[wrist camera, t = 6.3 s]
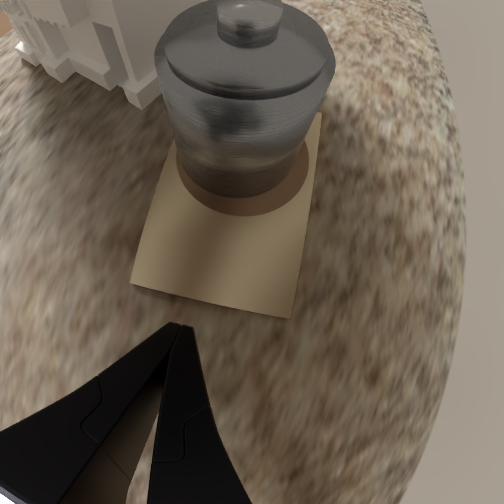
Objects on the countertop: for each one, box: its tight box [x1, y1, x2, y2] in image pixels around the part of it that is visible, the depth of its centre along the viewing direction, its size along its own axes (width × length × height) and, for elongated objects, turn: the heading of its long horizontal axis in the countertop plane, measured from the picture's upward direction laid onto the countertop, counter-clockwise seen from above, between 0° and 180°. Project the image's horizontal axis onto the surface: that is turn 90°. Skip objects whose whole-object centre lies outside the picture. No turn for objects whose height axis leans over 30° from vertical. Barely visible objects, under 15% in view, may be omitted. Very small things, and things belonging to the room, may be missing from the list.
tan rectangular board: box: [130, 111, 322, 319], centre depth 18 cm, size 10×14×1 cm, turn 168°
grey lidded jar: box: [154, 0, 336, 198], centre depth 13 cm, size 8×8×11 cm
